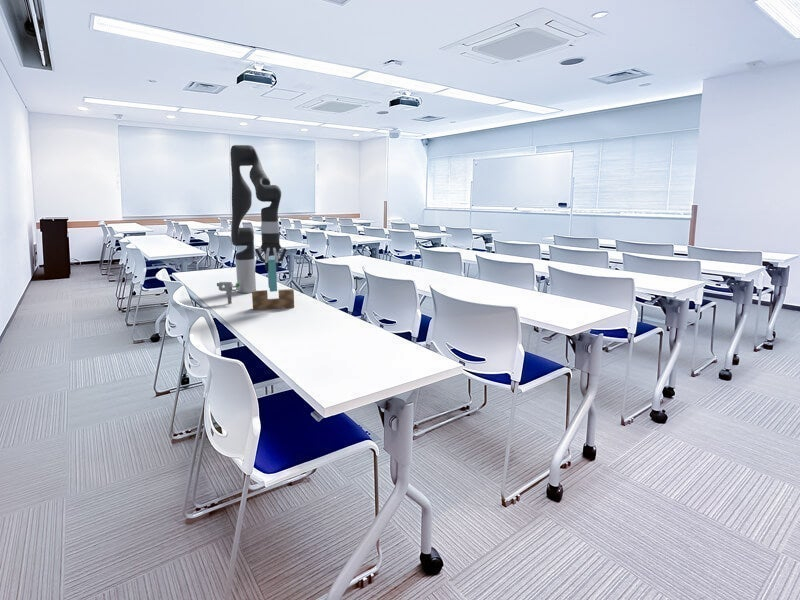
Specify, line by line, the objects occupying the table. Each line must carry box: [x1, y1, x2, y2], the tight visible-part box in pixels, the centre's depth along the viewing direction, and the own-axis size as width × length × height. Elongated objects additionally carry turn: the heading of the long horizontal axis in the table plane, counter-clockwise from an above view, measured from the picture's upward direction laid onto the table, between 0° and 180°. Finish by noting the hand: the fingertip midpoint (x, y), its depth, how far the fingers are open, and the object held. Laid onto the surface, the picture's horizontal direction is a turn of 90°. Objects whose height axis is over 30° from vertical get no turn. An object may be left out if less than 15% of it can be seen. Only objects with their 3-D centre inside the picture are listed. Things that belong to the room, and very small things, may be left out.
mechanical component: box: [216, 281, 240, 305], centre depth 221 cm, size 3×10×10 cm, turn 89°
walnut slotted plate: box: [251, 288, 295, 311], centre depth 214 cm, size 18×3×8 cm, turn 108°
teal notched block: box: [267, 257, 278, 293], centre depth 212 cm, size 12×3×13 cm, turn 18°
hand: (272, 270), depth 211 cm, fingers closed on teal notched block, 3 cm apart
